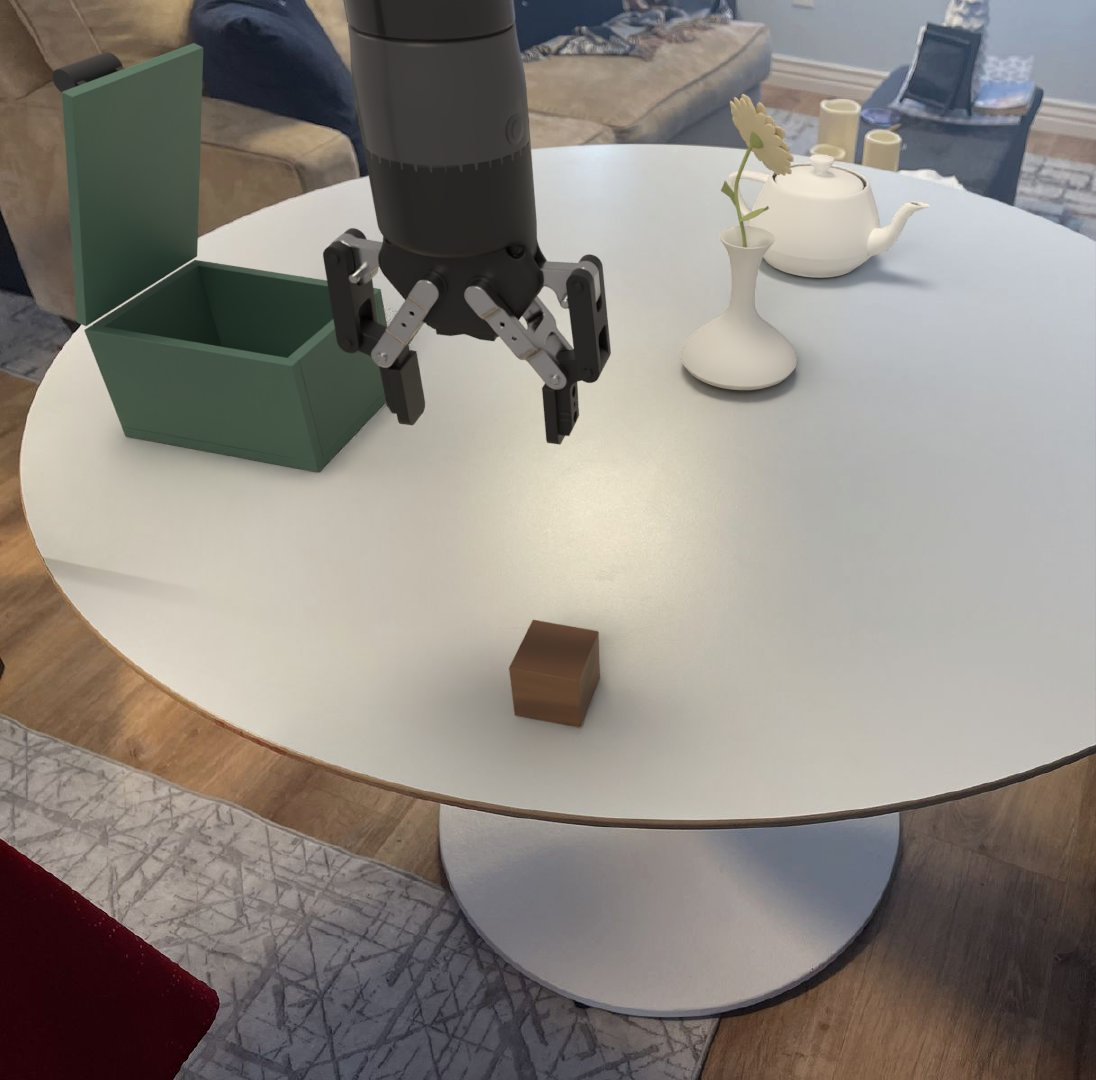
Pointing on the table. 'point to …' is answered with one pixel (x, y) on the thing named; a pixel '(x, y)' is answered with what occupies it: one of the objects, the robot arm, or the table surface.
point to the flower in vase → (745, 281)
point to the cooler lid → (131, 172)
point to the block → (555, 673)
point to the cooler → (237, 366)
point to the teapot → (821, 218)
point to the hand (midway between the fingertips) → (484, 426)
